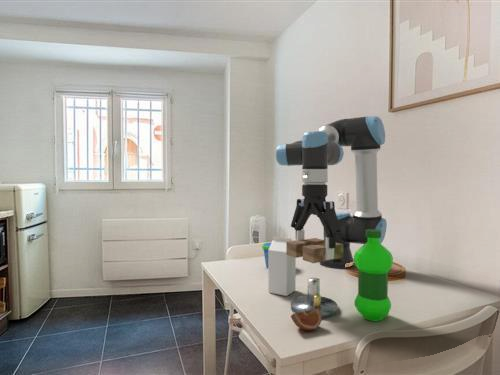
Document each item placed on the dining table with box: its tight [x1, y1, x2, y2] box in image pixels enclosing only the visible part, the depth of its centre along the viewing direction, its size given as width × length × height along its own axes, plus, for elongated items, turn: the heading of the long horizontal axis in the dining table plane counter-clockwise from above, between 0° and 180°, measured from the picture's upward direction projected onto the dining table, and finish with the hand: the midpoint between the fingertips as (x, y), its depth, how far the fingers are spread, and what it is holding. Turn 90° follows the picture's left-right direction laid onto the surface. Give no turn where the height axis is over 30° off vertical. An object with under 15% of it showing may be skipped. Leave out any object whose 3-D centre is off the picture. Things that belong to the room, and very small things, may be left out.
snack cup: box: [261, 241, 272, 268], centre depth 147 cm, size 16×10×10 cm
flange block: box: [286, 237, 343, 264], centre depth 102 cm, size 12×12×4 cm
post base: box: [290, 277, 338, 319], centre depth 102 cm, size 14×14×9 cm
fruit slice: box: [290, 308, 323, 332], centre depth 89 cm, size 8×7×5 cm
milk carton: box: [267, 236, 297, 297], centre depth 117 cm, size 7×7×19 cm
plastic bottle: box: [353, 229, 394, 322], centre depth 95 cm, size 10×10×25 cm
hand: (314, 254), depth 102 cm, fingers closed on flange block, 12 cm apart
